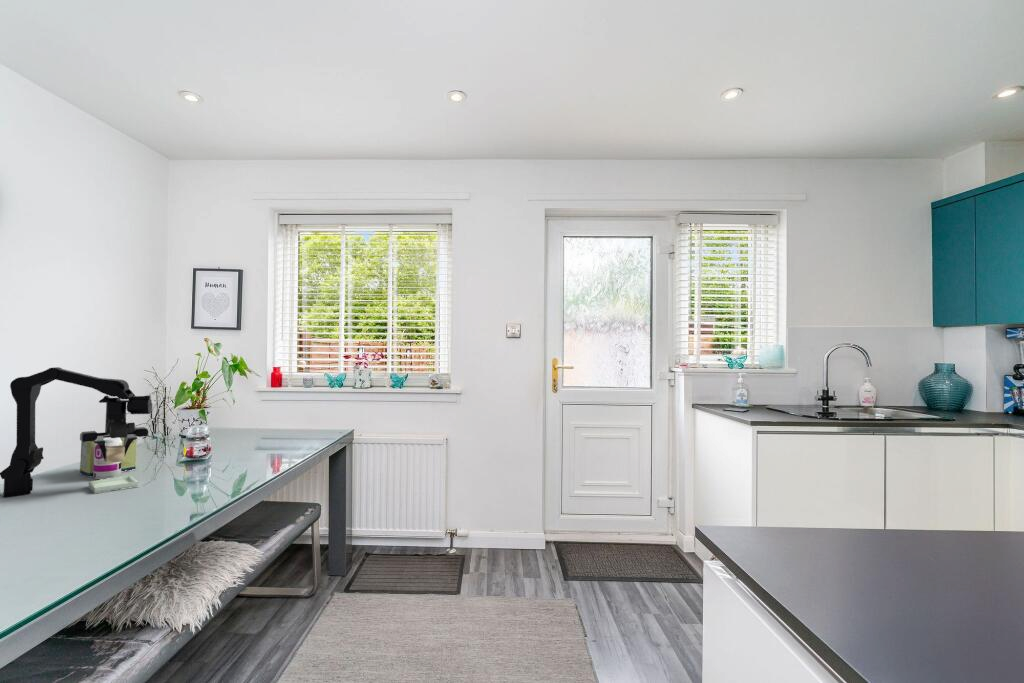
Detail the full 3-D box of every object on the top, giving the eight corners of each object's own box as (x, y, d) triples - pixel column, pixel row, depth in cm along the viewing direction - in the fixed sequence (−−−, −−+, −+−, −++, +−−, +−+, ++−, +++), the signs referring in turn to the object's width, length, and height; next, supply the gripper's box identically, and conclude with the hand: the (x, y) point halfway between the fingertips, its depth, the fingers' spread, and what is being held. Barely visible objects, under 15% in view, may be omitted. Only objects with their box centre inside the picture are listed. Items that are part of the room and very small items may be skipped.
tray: (94, 493, 169) (94, 488, 169) (88, 486, 177) (88, 481, 177) (137, 487, 178) (137, 481, 178) (130, 481, 186) (130, 475, 186)
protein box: (136, 470, 203) (138, 432, 203) (88, 477, 189) (90, 437, 190) (125, 466, 208) (127, 429, 208) (78, 473, 195) (80, 434, 195)
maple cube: (106, 463, 174) (107, 449, 174) (103, 460, 177) (104, 447, 177) (124, 461, 177) (124, 447, 178) (121, 458, 181) (121, 445, 181)
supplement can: (108, 480, 186) (110, 440, 186) (87, 479, 186) (89, 440, 186) (126, 475, 194) (127, 437, 194) (105, 474, 194) (107, 436, 194)
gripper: (85, 419, 165) (83, 465, 165) (152, 415, 179) (151, 458, 179) (80, 415, 173) (78, 460, 172) (145, 412, 187) (143, 453, 186)
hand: (114, 458), depth 177 cm, fingers closed on maple cube, 5 cm apart
